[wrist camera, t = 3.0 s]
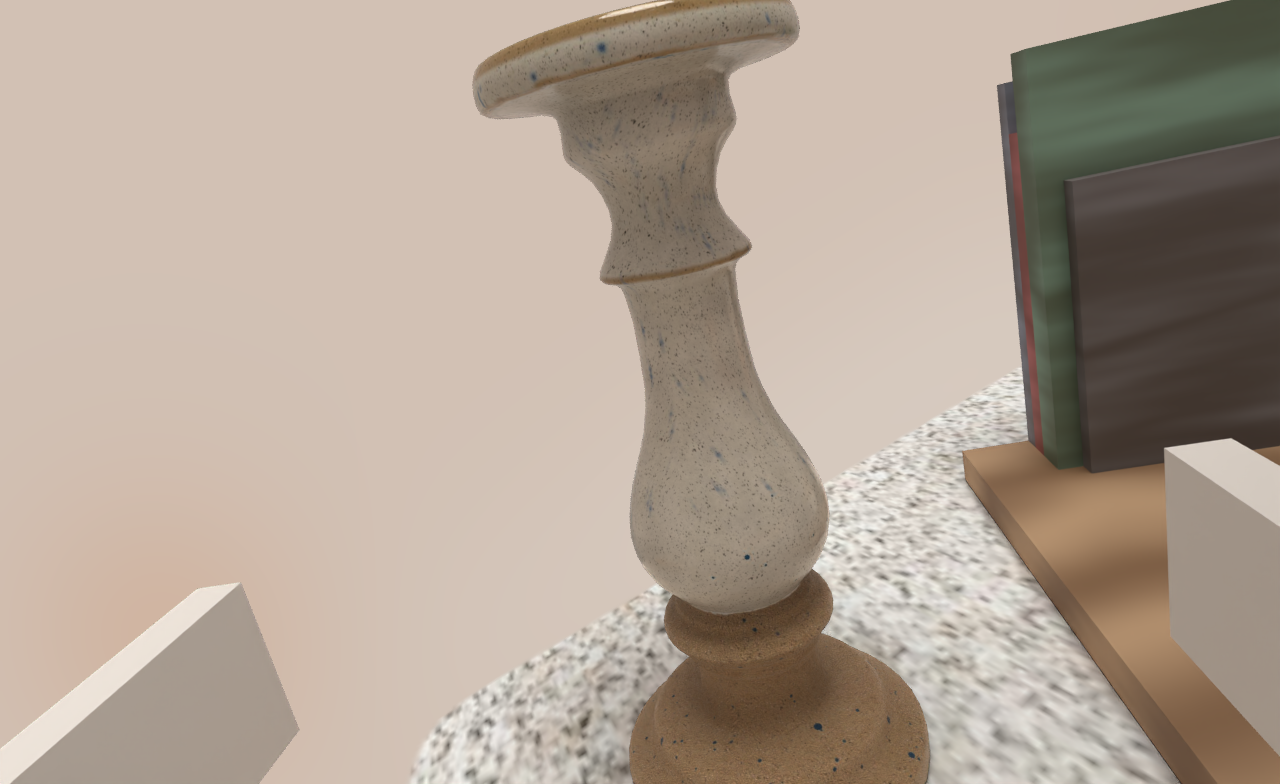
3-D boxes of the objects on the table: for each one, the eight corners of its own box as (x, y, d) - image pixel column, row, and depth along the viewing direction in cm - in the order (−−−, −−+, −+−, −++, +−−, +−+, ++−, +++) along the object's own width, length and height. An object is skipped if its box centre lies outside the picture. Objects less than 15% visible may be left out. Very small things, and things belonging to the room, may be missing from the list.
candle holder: (626, 695, 27) (468, 100, 22) (865, 637, 28) (767, 32, 22) (648, 922, 19) (401, 46, 14) (993, 835, 19) (885, -63, 14)
